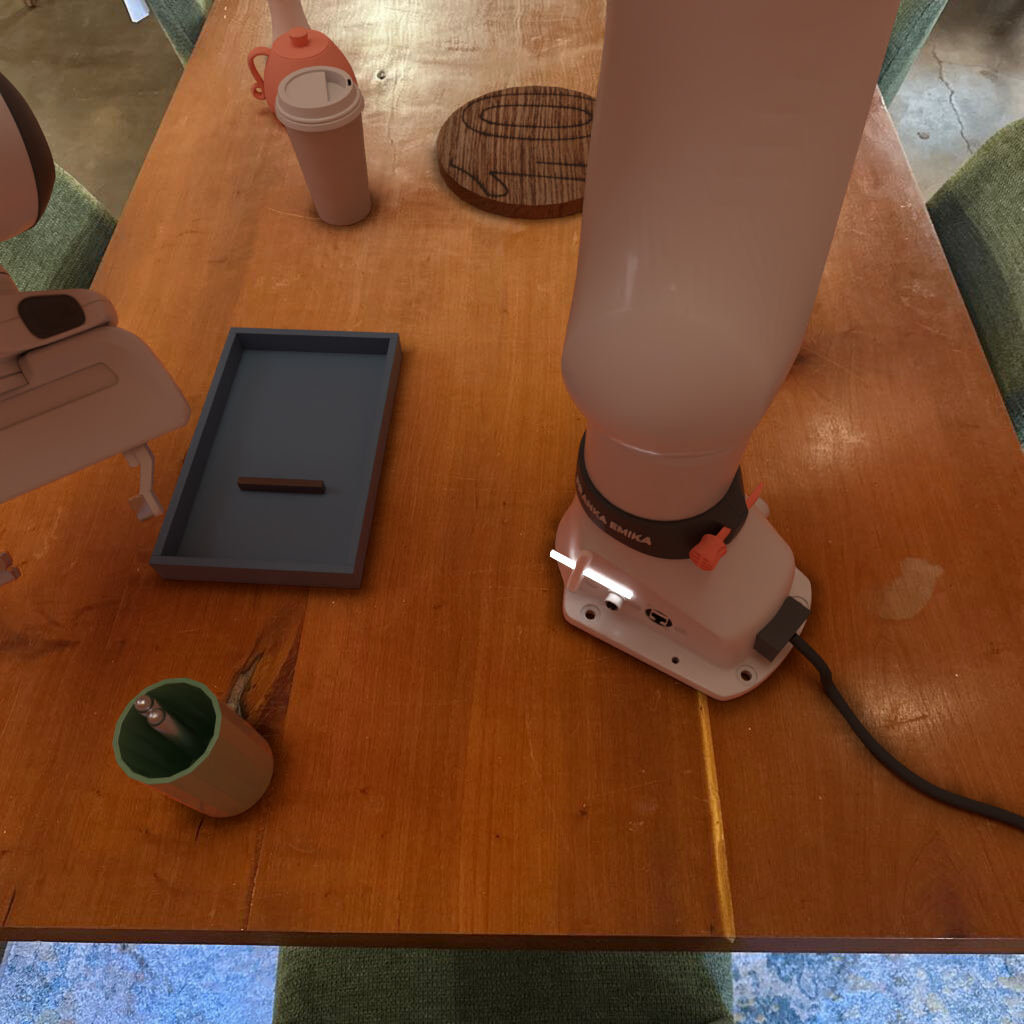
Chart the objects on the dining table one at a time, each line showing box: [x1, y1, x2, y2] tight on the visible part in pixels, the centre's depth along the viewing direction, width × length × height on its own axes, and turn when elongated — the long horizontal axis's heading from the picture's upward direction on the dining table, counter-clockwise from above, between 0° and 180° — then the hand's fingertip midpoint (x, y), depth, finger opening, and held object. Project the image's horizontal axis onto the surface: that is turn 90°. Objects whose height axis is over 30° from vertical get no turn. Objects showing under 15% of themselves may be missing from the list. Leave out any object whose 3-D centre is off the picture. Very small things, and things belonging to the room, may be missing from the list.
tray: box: [148, 326, 404, 590], centre depth 73 cm, size 28×18×3 cm, turn 176°
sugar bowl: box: [246, 27, 359, 114], centre depth 100 cm, size 12×14×10 cm
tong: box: [135, 695, 210, 745], centre depth 54 cm, size 1×1×12 cm
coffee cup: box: [274, 66, 372, 227], centre depth 87 cm, size 10×10×15 cm
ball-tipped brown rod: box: [147, 708, 208, 761], centre depth 53 cm, size 1×1×12 cm
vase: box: [266, 0, 312, 49], centre depth 107 cm, size 8×8×10 cm
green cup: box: [112, 677, 275, 819], centre depth 54 cm, size 7×7×12 cm
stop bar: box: [237, 477, 326, 494], centre depth 71 cm, size 1×8×1 cm, turn 86°
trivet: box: [435, 85, 596, 220], centre depth 97 cm, size 25×25×2 cm
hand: (82, 549), depth 50 cm, fingers open, 8 cm apart
